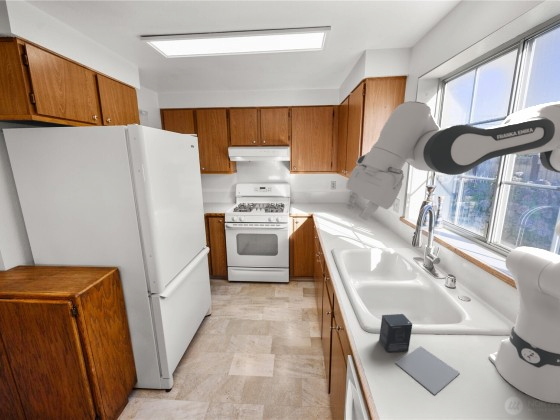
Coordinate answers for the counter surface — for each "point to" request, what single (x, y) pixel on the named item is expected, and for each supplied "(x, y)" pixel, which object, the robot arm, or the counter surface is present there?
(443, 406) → the counter surface
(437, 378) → the mat
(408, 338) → the box
